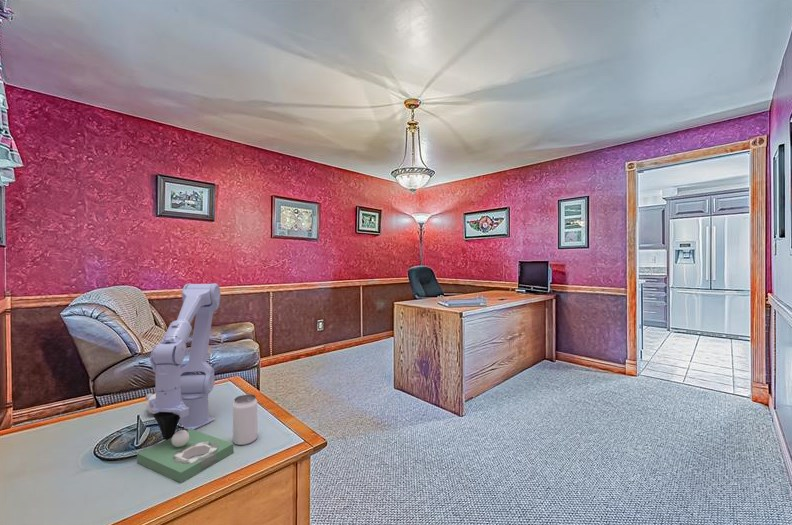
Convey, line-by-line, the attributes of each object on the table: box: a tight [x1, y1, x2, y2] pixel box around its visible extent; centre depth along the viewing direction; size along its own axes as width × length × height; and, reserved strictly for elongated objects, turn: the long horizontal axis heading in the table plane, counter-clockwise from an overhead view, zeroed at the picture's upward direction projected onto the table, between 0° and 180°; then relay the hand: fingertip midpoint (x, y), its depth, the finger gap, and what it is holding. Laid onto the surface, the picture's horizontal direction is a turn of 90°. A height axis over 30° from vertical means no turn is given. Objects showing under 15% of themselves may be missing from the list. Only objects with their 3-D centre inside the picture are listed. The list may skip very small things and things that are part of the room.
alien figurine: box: [145, 392, 158, 415], centre depth 116 cm, size 7×7×12 cm
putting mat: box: [136, 429, 235, 484], centre depth 90 cm, size 18×14×2 cm
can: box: [232, 393, 259, 446], centre depth 99 cm, size 6×6×12 cm
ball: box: [171, 429, 189, 447], centre depth 91 cm, size 4×4×4 cm
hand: (168, 437), depth 94 cm, fingers closed
